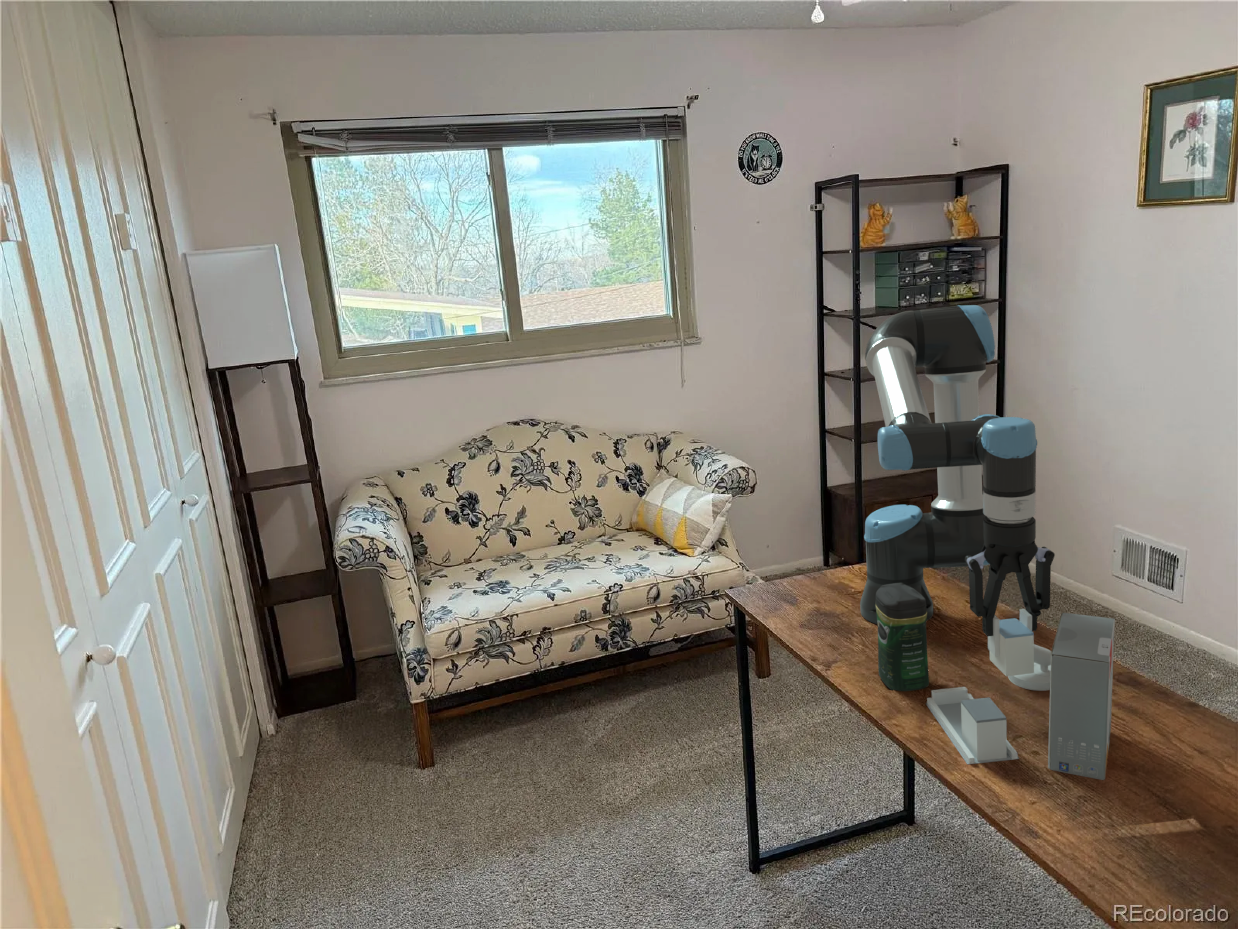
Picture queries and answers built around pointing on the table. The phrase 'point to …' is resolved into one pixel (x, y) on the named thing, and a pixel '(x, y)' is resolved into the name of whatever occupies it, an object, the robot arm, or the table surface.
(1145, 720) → the table surface
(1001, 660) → the module
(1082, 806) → the table surface
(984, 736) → the block
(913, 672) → the coffee jar
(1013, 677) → the wall hook
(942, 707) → the rail
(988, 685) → the table surface
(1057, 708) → the hard drive box
